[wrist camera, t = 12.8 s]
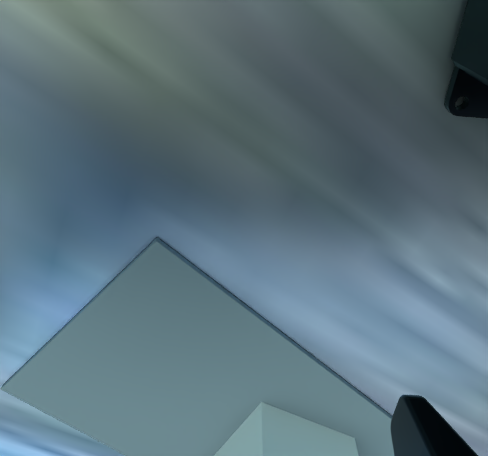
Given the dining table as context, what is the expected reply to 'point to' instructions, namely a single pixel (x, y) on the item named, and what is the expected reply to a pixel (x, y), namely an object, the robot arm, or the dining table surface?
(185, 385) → the placemat
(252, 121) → the dining table surface
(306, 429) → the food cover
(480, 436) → the dining table surface
